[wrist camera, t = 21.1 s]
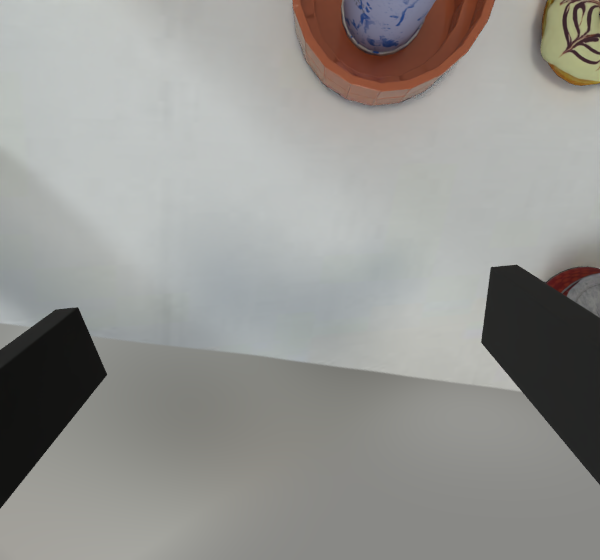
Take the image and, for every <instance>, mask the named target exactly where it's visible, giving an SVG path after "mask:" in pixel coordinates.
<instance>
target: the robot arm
mask: <svg viewBox="0 0 600 560" xmlns="http://www.w3.org/2000/svg"><path fill="white" fill-rule="evenodd" d="M481 343H482V344H483V345H484V346H485V348H486V349H487V350H488V351H489V352H490V354H491V355H492V356H493V357H494V358H495V360H496V361H497V362H498V363H499V364H500V366H501V367H502V368H503V369H504V370H505V372H506V373H507V374H508V375H509V376H510V378H511V379H512V380H513V381H514V382H515V384H516V385H517V386H518V387H519V388H520V390H521V391H522V392H523V393H524V394H525V395H526V397H527V398H528V399H529V400H530V402H531V403H532V404H533V405H534V406H535V408H536V409H537V410H538V411H539V412H540V414H541V415H542V416H543V417H544V418H545V420H546V421H547V422H548V423H549V424H550V426H551V427H552V428H553V429H554V430H555V432H556V433H557V434H558V435H559V436H560V438H561V439H562V440H563V441H564V442H565V444H566V445H567V446H568V447H569V448H570V450H571V451H572V452H573V453H574V454H575V456H576V457H577V458H578V459H579V460H580V462H581V463H582V464H583V465H584V466H585V468H586V469H587V470H588V471H589V472H590V474H591V475H592V476H593V477H594V478H595V479H596V481H597V482H598V483H599V484H600V317H598V316H596V315H595V314H593V313H592V312H590V311H589V310H587V309H585V308H584V307H582V306H581V305H579V304H578V303H576V302H574V301H573V300H571V299H570V298H568V297H567V296H565V295H563V294H562V293H560V292H559V291H557V290H556V289H554V288H552V287H551V286H549V285H548V284H546V283H545V282H543V281H541V280H540V279H538V278H537V277H535V276H534V275H532V274H530V273H529V272H527V271H526V270H524V269H523V268H521V267H519V266H518V265H510V266H499V267H491V271H490V279H489V287H488V294H487V302H486V310H485V318H484V325H483V333H482V341H481ZM106 375H107V373H106V371H105V369H104V367H103V364H102V362H101V359H100V357H99V355H98V352H97V350H96V348H95V346H94V343H93V341H92V339H91V336H90V334H89V332H88V329H87V327H86V325H85V322H84V320H83V318H82V315H81V313H80V311H79V308H67V309H57V310H54V311H53V312H52V313H50V314H49V315H48V316H46V317H45V318H43V319H42V320H41V321H39V322H38V323H37V324H35V325H34V326H33V327H31V328H30V329H29V330H27V331H26V332H24V333H23V334H22V335H20V336H19V337H17V338H16V339H15V340H13V341H12V342H11V343H9V344H8V345H7V346H5V347H4V348H2V349H1V350H0V508H1V507H2V506H3V504H4V503H5V502H6V501H7V500H8V498H9V497H10V496H11V494H12V493H13V492H14V491H15V489H16V488H17V487H18V486H19V484H20V483H21V482H22V481H23V479H24V478H25V477H26V476H27V474H28V473H29V472H30V471H31V469H32V468H33V467H34V466H35V464H36V463H37V462H38V461H39V459H40V458H41V457H42V456H43V454H44V453H45V452H46V451H47V449H48V448H49V447H50V446H51V444H52V443H53V442H54V440H55V439H56V438H57V437H58V435H59V434H60V433H61V432H62V431H63V429H64V428H65V427H66V426H67V424H68V423H69V422H70V421H71V419H72V418H73V417H74V415H75V414H76V413H77V412H78V411H79V409H80V408H81V407H82V406H83V404H84V403H85V402H86V401H87V399H88V398H89V397H90V395H91V394H92V393H93V392H94V390H95V389H96V388H97V387H98V385H99V384H100V383H101V382H102V380H103V379H104V378H105V376H106Z"/></svg>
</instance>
